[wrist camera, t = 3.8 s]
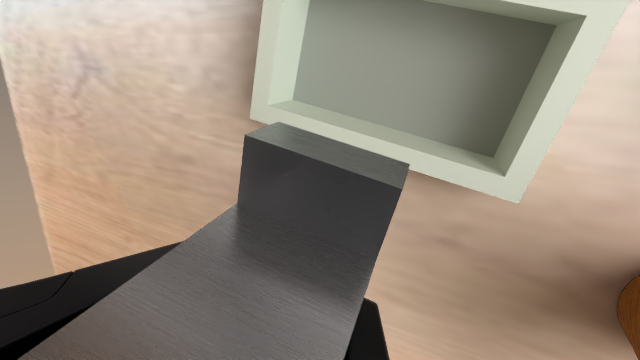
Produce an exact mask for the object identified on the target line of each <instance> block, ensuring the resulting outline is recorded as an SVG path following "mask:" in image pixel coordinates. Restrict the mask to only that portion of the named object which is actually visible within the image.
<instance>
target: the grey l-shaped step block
mask: <svg viewBox="0 0 640 360" xmlns="http://www.w3.org/2000/svg"><path fill="white" fill-rule="evenodd" d="M409 166H410V164H408V163H405V162H402V161H399V160H396V159H393V158H390V157H387V156H384V155H381V154H377V153H374V152H371V151H368V150H365V149H362V148H359V147H356V146H353V145H350V144H346V143H343V142H340V141H337V140H334V139H331V138H328V137H325V136H322V135H319V134H316V133H312V132H309V131H306V130H303V129H300V128H297V127H294V126H291V125H288V124H285V123H281V122H276V123H273V124H271V125H268V126H266V127H263V128H261V129H258V130H256V131H253V132H251V133H248V134H246V135H245V138H244V147H243V156H242V166H241V175H240V184H239V194H238V203H237V204H235V205H234V206H233V207H231V208H230V209H228V210H227V211H226V212H224V213H223V214H221V215H220V216H219V217H217V218H216V219H214V220H213V221H211V222H210V223H209V224H207V225H206V226H204V227H203V228H202V229H200V230H199V231H197V232H196V233H195V234H193V235H192V236H190V237H189V238H188V239H186V240H185V241H183V242H182V243H181V244H179V245H178V246H176V247H175V248H174V249H172V250H171V251H169V252H168V253H167V254H165V255H164V256H162V257H161V258H160V259H158V260H157V261H155V262H154V263H152V264H151V265H150V266H148V267H147V268H145V269H144V270H143V271H141V272H140V273H138V274H137V275H136V276H134V277H133V278H131V279H130V280H129V281H127V282H126V283H124V284H123V285H122V286H120V287H119V288H117V289H116V290H115V291H113V292H112V293H110V294H109V295H108V296H106V297H105V298H103V299H102V300H101V301H99V302H98V303H96V304H95V305H93V306H92V307H91V308H89V309H88V310H86V311H85V312H84V313H82V314H81V315H79V316H78V317H77V318H75V319H74V320H72V321H71V322H70V323H68V324H67V325H65V326H64V327H63V328H61V329H60V330H58V331H57V332H56V333H54V334H53V335H51V336H50V337H49V338H47V339H46V340H44V341H43V342H42V343H40V344H39V345H37V346H36V347H34V348H33V349H32V350H30V351H29V352H27V353H26V354H25V355H23V356H22V357H20V358H19V359H18V360H343V359H344V356H345V353H346V350H347V347H348V344H349V341H350V338H351V335H352V332H353V329H354V326H355V323H356V320H357V317H358V314H359V311H360V308H361V304H362V301H363V298H364V295H365V292H366V289H367V286H368V283H369V280H370V277H371V274H372V271H373V268H374V265H375V262H376V259H377V256H378V253H379V251H380V248H381V245H382V243H383V240H384V237H385V235H386V232H387V229H388V227H389V224H390V221H391V219H392V216H393V213H394V210H395V208H396V205H397V202H398V200H399V197H400V194H401V192H402V189H403V186H404V182H405V179H406V176H407V173H408V169H409Z"/></svg>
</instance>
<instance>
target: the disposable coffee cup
mask: <svg viewBox="0 0 640 360" xmlns="http://www.w3.org/2000/svg"><path fill="white" fill-rule="evenodd" d="M617 316H618V318H619V321H620V323H621V326H622V327H623V329H624V331H625V333H626V335H627V337H628V339H629V341H630V344H631V346H632V347H633V350H634V352H635V354H636V356H637V358H638V360H640V275H639V276H638V277H636V278H635V279H634V280H632V281H631V282H630V283H629V284H628V285H627V286H626V288H625V289H624V290H623V292H622V294H621V295H620V297H619V301H618V306H617Z"/></svg>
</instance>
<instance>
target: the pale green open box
mask: <svg viewBox="0 0 640 360" xmlns="http://www.w3.org/2000/svg"><path fill="white" fill-rule="evenodd" d="M629 2H630V0H263V6H262V15H261V24H260V32H259V41H258V49H257V58H256V66H255V75H254V84H253V92H252V101H251V109H250V118H249V119H252V120H255V121H259V122H262V123H265V124H268V125H271V124H273V123H276V122H281V123H285V124H288V125H291V126H294V127H297V128H300V129H303V130H306V131H309V132H312V133H316V134H319V135H322V136H325V137H328V138H331V139H334V140H337V141H340V142H343V143H346V144H350V145H353V146H356V147H359V148H362V149H365V150H368V151H371V152H374V153H377V154H381V155H384V156H387V157H390V158H393V159H396V160H399V161H402V162H405V163H408V164H410V166H409V169H410V170H413V171H416V172H419V173H422V174H425V175H429V176H432V177H435V178H438V179H441V180H444V181H448V182H451V183H454V184H457V185H460V186H463V187H466V188H470V189H473V190H476V191H479V192H482V193H485V194H488V195H492V196H495V197H498V198H501V199H504V200H507V201H510V202H514V203H517V204H519V202H520V200H521V198H522V196H523V194H524V193H525V191H526V189H527V187H528V185H529V184H530V182H531V180H532V178H533V176H534V174H535V173H536V171H537V169H538V167H539V165H540V164H541V162H542V160H543V158H544V156H545V155H546V153H547V151H548V149H549V147H550V145H551V144H552V142H553V140H554V138H555V136H556V135H557V133H558V131H559V129H560V127H561V125H562V124H563V122H564V120H565V118H566V116H567V115H568V113H569V111H570V109H571V107H572V106H573V104H574V102H575V100H576V98H577V96H578V95H579V93H580V91H581V89H582V87H583V86H584V84H585V82H586V80H587V78H588V77H589V75H590V73H591V71H592V69H593V67H594V66H595V64H596V62H597V60H598V58H599V57H600V55H601V53H602V51H603V49H604V47H605V46H606V44H607V42H608V40H609V38H610V37H611V35H612V33H613V31H614V29H615V28H616V26H617V24H618V22H619V20H620V18H621V17H622V15H623V13H624V11H625V9H626V8H627V6H628V4H629Z"/></svg>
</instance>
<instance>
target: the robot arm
mask: <svg viewBox="0 0 640 360" xmlns="http://www.w3.org/2000/svg"><path fill="white" fill-rule="evenodd" d="M182 242H183V241H182ZM182 242H178V243H175V244H171V245H167V246H164V247H160V248H156V249H152V250H149V251H145V252H141V253H138V254H134V255H130V256H127V257H123V258H119V259H115V260H112V261H108V262H104V263H101V264H97V265H93V266H89V267H86V268H82V269H78V270H75V271H74V272H72V271H71V272H67V273H63V274H60V275H56V276H52V277H48V278H44V279H40V280H37V281H33V282H28V283H25V284H20V285H16V286H11V287H7V288H3V289H0V360H18V359H19V358H20V357H22V356H23V355H25V354H26V353H27V352H29V351H30V350H32V349H33V348H34V347H36V346H37V345H39V344H40V343H42V342H43V341H44V340H46V339H47V338H49V337H50V336H51V335H53V334H54V333H56V332H57V331H58V330H60V329H61V328H63V327H64V326H65V325H67V324H68V323H70V322H71V321H72V320H74V319H75V318H77V317H78V316H79V315H81V314H82V313H84V312H85V311H86V310H88V309H89V308H91V307H92V306H93V305H95V304H96V303H98V302H99V301H101V300H102V299H103V298H105V297H106V296H108V295H109V294H110V293H112V292H113V291H115V290H116V289H117V288H119V287H120V286H122V285H123V284H124V283H126V282H127V281H129V280H130V279H131V278H133V277H134V276H136V275H137V274H138V273H140V272H141V271H143V270H144V269H145V268H147V267H148V266H150V265H151V264H152V263H154V262H155V261H157V260H158V259H160V258H161V257H162V256H164V255H165V254H167V253H168V252H169V251H171V250H172V249H174V248H175V247H176V246H178V245H179V244H181V243H182ZM343 360H390V359H389V355H388V350H387V346H386V341H385V337H384V332H383V327H382V323H381V318H380V314H379V309H378V305H377V304H376V303H375V302H373V301H371V300H369V299H366V298H363V301H362V304H361V308H360V311H359V314H358V317H357V320H356V323H355V326H354V329H353V332H352V335H351V338H350V341H349V344H348V347H347V350H346V353H345V356H344V359H343Z"/></svg>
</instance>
